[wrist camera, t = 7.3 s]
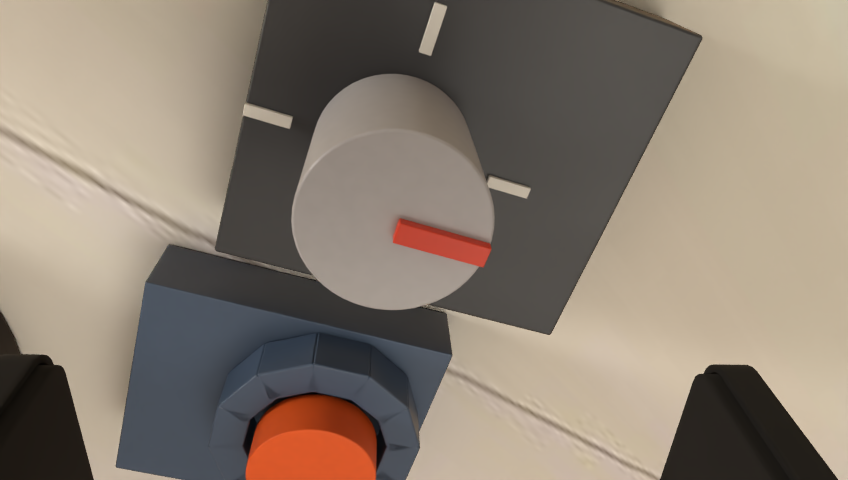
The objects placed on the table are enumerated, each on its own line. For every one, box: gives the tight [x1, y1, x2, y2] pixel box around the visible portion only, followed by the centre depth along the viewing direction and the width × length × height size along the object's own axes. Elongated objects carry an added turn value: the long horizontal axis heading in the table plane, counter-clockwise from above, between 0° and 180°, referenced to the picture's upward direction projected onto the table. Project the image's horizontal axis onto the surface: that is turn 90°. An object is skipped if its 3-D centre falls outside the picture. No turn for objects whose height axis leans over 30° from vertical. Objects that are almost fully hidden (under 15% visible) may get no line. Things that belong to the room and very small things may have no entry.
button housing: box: [116, 245, 452, 480], centre depth 25 cm, size 9×11×4 cm
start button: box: [246, 394, 377, 480], centre depth 23 cm, size 4×4×2 cm
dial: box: [291, 74, 495, 310], centre depth 17 cm, size 5×5×5 cm
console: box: [215, 0, 702, 335], centre depth 21 cm, size 11×12×3 cm
